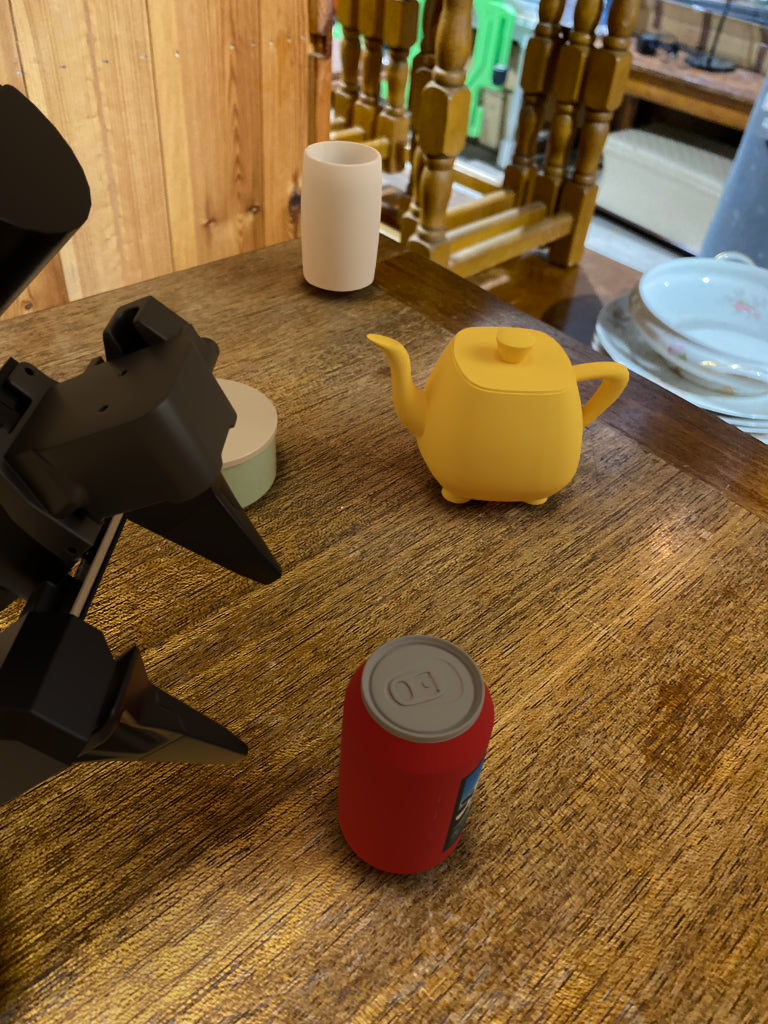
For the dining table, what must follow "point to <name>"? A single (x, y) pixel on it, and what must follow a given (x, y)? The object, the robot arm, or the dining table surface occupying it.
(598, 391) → the teapot
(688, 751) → the dining table surface
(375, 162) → the cup
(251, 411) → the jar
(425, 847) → the beverage can
